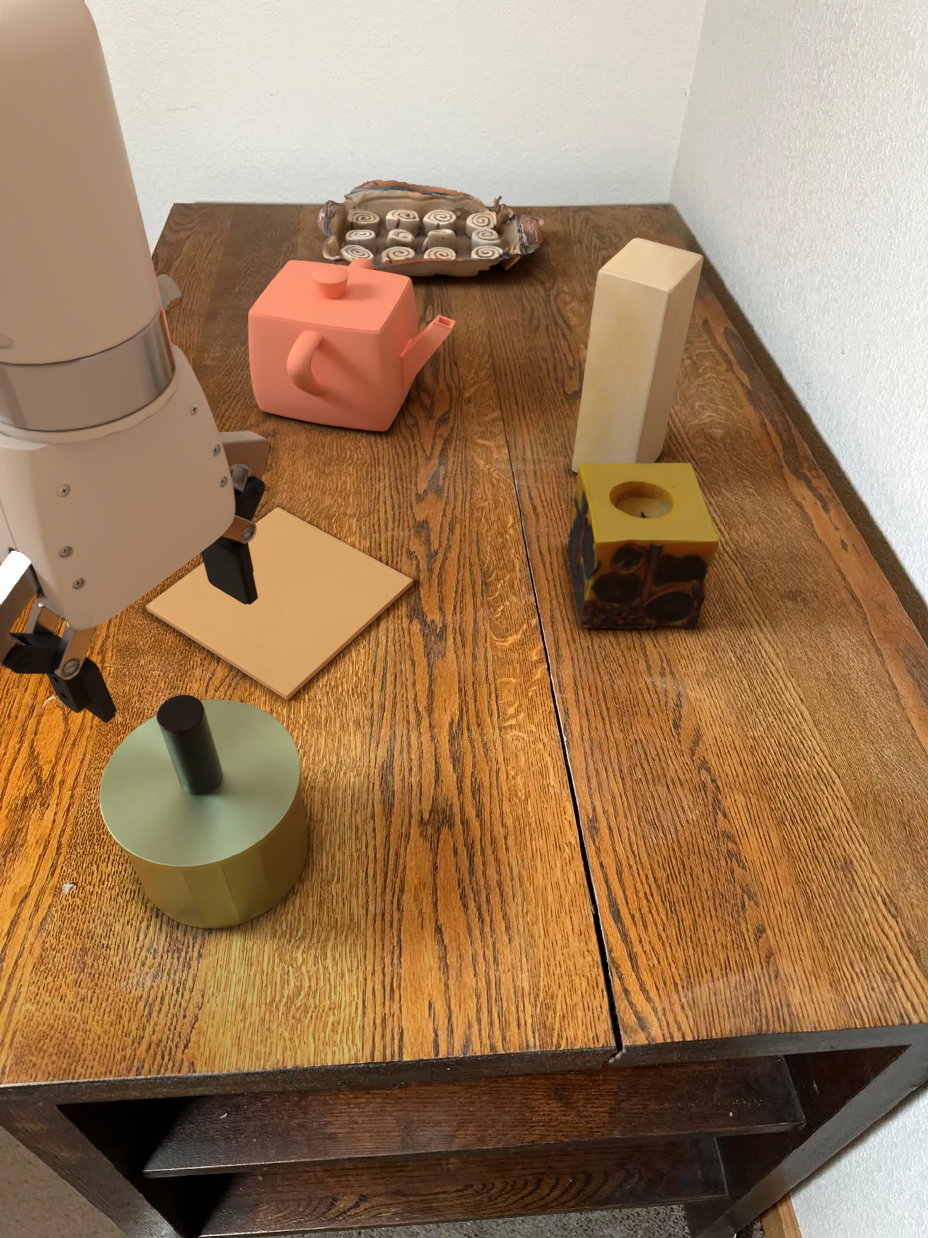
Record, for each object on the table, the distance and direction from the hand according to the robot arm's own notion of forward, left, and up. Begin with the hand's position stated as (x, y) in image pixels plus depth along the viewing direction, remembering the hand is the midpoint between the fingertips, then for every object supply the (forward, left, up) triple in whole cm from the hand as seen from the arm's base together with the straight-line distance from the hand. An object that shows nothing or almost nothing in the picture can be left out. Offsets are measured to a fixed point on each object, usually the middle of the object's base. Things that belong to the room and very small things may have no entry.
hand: (166, 645), depth 48 cm
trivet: (+20, +14, -21) cm, 32 cm away
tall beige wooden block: (+54, 0, -21) cm, 58 cm away
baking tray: (+78, +41, -21) cm, 91 cm away
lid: (0, 0, -13) cm, 13 cm away
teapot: (+47, +27, -21) cm, 58 cm away
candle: (+39, -10, -21) cm, 45 cm away
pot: (0, 0, -21) cm, 21 cm away
